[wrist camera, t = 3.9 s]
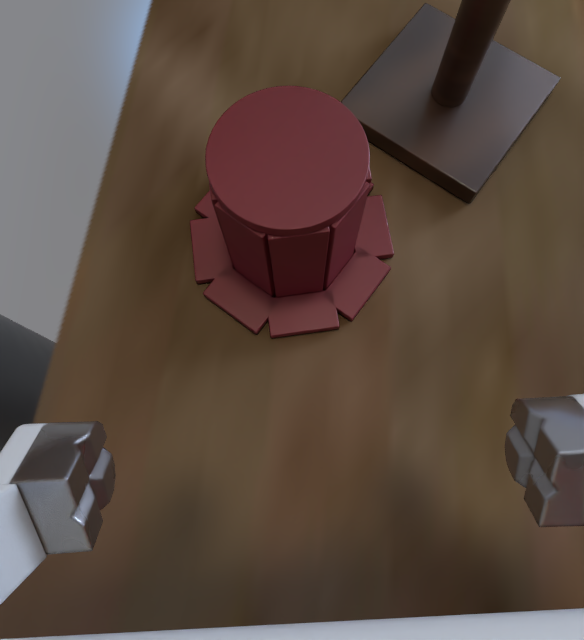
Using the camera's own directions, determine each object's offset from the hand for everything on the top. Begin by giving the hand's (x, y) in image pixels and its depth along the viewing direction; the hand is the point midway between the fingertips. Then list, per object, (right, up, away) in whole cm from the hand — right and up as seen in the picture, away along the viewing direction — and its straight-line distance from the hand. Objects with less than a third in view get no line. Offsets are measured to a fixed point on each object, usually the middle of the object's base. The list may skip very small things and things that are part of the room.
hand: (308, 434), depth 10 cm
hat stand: (+8, +15, +20) cm, 26 cm away
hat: (0, +7, +18) cm, 19 cm away
